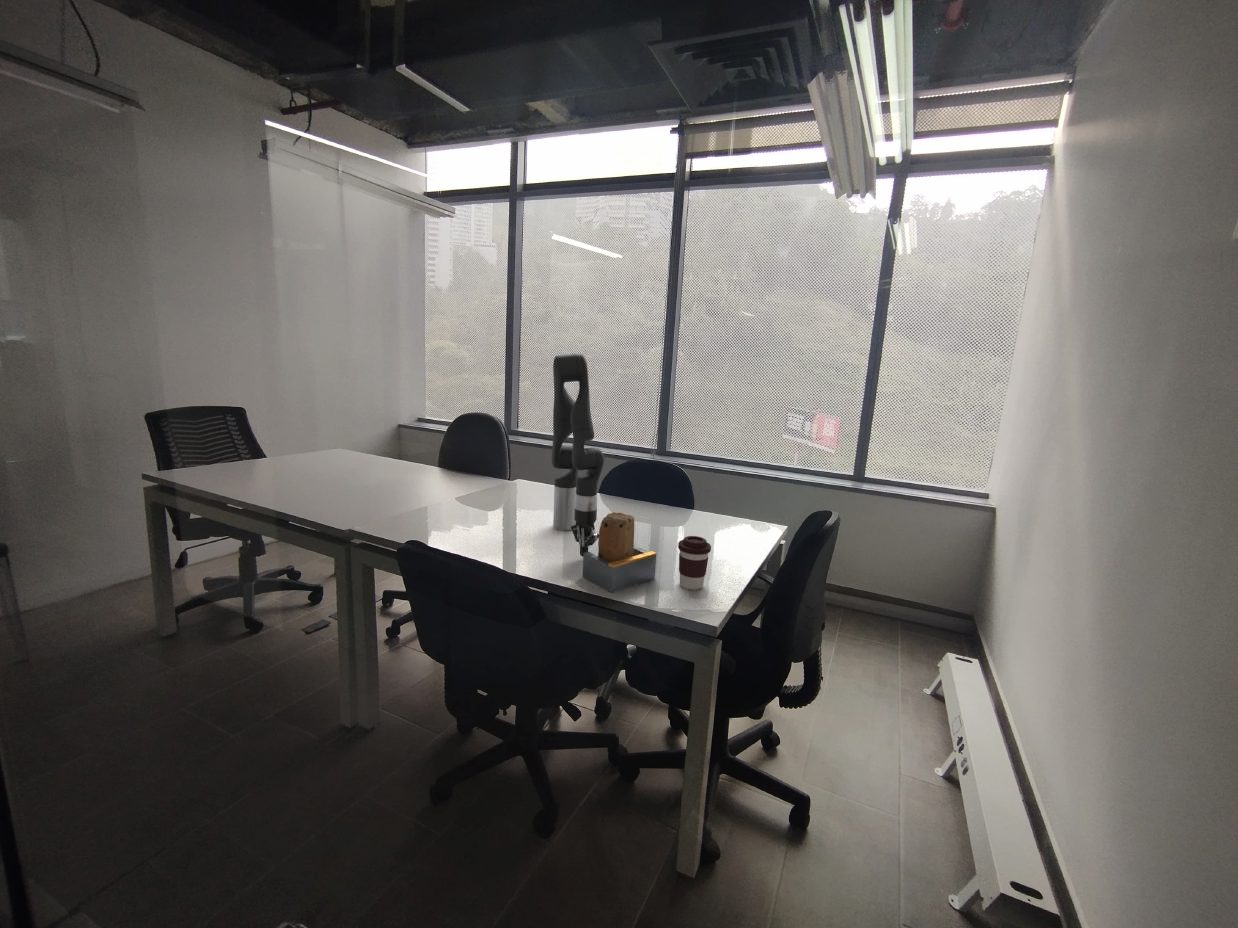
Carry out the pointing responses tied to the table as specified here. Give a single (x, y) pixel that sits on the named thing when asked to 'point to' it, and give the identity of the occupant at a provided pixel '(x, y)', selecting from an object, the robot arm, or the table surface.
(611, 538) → the block
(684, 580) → the coffee cup
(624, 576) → the dock
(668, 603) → the table surface
